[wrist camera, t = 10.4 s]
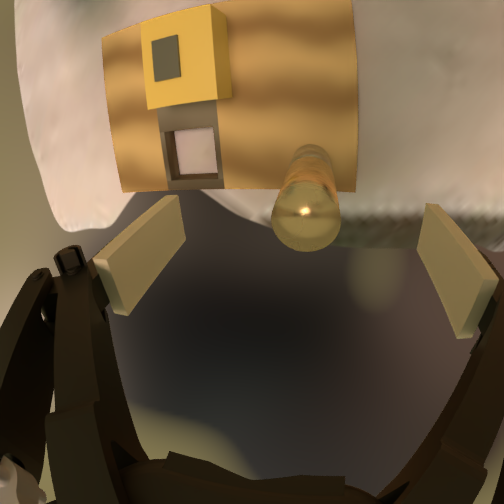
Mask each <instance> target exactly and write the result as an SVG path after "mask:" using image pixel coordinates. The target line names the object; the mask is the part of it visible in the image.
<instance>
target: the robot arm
mask: <svg viewBox="0 0 504 504" xmlns="http://www.w3.org/2000/svg"><path fill="white" fill-rule="evenodd" d="M185 240H186V238H185V232H184V227H183V221H182V216H181V210H180V205H179V198H178V195H166V196H165V197H163V198H162V199H161V200H160V201H158V202H157V203H156V204H155V205H153V206H152V207H151V208H150V209H149V210H147V211H146V212H145V213H143V214H142V215H141V216H140V217H139V218H138V219H136V220H135V221H134V222H133V223H132V224H130V225H129V226H128V227H127V228H126V229H125V230H123V231H122V232H121V233H120V234H119V235H118V236H117V237H115V238H114V239H112V240H111V241H110V242H109V243H108V244H107V245H106V246H105V247H103V248H102V249H101V251H99V252H98V253H97V254H96V255H95V256H94V257H92V258H91V259H90V260H89V261H88V262H87V263H86V260H85V257H84V254H83V252H82V249H81V246H79V245H72V246H68V247H66V248H64V249H62V250H60V251H59V252H58V253H57V254H56V255H55V256H54V261H55V263H56V265H57V268H58V271H59V273H60V276H58V277H52V274H51V273H50V270H49V268H41V269H37V270H35V271H34V272H33V273H32V274H31V275H30V276H29V277H28V278H27V280H26V281H25V283H24V285H23V286H22V288H21V290H20V292H19V294H18V295H17V297H16V299H15V300H14V302H13V304H12V306H11V308H10V310H9V312H8V314H7V316H6V318H5V320H4V322H3V324H2V326H1V328H0V504H45V503H46V500H47V499H46V494H45V492H44V491H43V490H42V489H40V488H39V486H38V485H39V482H40V479H41V474H42V469H43V463H44V455H45V445H46V443H47V450H48V459H49V465H50V471H51V477H52V482H53V487H54V491H55V496H56V500H54V501H51V502H49V503H46V504H473V502H474V500H475V498H476V497H477V495H478V493H479V491H480V490H481V488H482V486H483V484H484V482H485V479H486V477H487V469H485V468H484V462H485V460H486V458H487V455H488V454H489V451H490V449H491V447H492V445H493V442H494V440H495V438H496V435H497V433H498V430H499V428H500V425H501V423H502V420H503V417H504V279H503V278H502V277H501V275H500V274H499V272H498V271H497V270H496V268H495V267H494V265H493V264H491V261H490V260H489V259H488V257H487V256H486V255H484V254H483V253H482V252H481V251H479V250H477V249H476V248H475V246H474V245H473V244H472V242H471V241H470V240H469V239H468V238H467V236H466V235H465V234H464V233H463V232H462V230H461V229H460V228H459V227H458V226H457V225H456V223H455V222H454V221H453V220H452V219H451V218H450V217H449V215H448V214H447V213H446V212H445V211H444V210H443V209H442V208H441V207H440V206H439V205H438V204H430V203H426V206H425V212H424V217H423V222H422V227H421V232H420V237H419V242H418V246H417V252H418V253H419V255H420V257H421V259H422V261H423V263H424V265H425V267H426V269H427V271H428V273H429V275H430V277H431V279H432V282H433V283H434V286H435V288H436V290H437V292H438V294H439V296H440V299H441V301H442V303H443V306H444V308H445V310H446V313H447V315H448V318H449V320H450V323H451V325H452V328H453V330H454V333H455V335H456V338H457V339H461V338H472V336H473V334H474V332H475V331H476V329H477V327H479V329H480V331H481V334H480V336H479V338H478V340H477V342H476V344H475V345H474V347H473V348H472V350H471V352H470V354H471V356H470V359H469V361H468V363H467V365H466V367H465V369H464V371H463V373H462V375H461V377H460V380H459V381H458V384H457V386H456V387H455V389H454V391H453V393H452V395H451V397H450V398H449V400H448V402H447V404H446V406H445V407H444V409H443V411H442V412H441V414H440V416H439V417H438V419H437V421H436V422H435V424H434V425H433V427H432V428H431V430H430V432H429V433H428V435H427V436H426V438H425V439H424V441H423V442H422V443H421V445H420V446H419V448H418V449H417V451H416V452H415V453H414V455H413V456H412V458H411V459H410V460H409V461H408V463H407V464H406V465H405V467H404V468H403V469H402V470H401V471H400V473H399V474H398V475H397V476H396V477H395V478H394V479H393V480H392V481H391V482H390V483H389V484H388V485H387V486H386V487H385V488H384V489H383V490H382V491H381V492H380V493H379V494H378V495H377V496H376V497H374V496H372V495H371V494H369V493H368V492H366V491H364V490H361V489H359V488H356V487H353V486H350V485H346V484H345V476H310V475H297V476H291V477H283V478H274V479H264V480H250V479H247V478H244V477H242V476H240V475H237V474H235V473H233V472H230V471H228V470H226V469H224V468H221V467H219V466H217V465H215V464H213V463H211V462H209V461H205V460H201V459H197V458H192V457H189V456H185V455H182V454H178V453H175V452H171V451H169V453H168V456H167V458H166V459H153V460H149V458H148V456H147V455H146V453H145V452H144V450H143V448H142V446H141V444H140V442H139V439H138V437H137V434H136V430H135V427H134V424H133V421H132V418H131V414H130V411H129V408H128V404H127V401H126V397H125V394H124V389H123V386H122V382H121V378H120V373H119V369H118V365H117V360H116V356H115V351H114V346H113V341H112V335H111V330H110V324H109V318H108V313H107V311H106V309H105V307H106V306H107V305H108V304H109V302H110V304H111V307H112V309H113V311H114V313H116V314H121V315H127V316H128V315H129V314H130V312H131V311H132V310H133V308H134V307H135V305H136V304H137V303H138V301H139V300H140V299H141V297H142V296H143V295H144V293H145V292H146V291H147V289H148V288H149V287H150V285H151V284H152V283H153V281H154V280H155V279H156V277H157V276H158V275H159V273H160V272H161V271H162V269H163V268H164V267H165V265H166V264H167V263H168V262H169V260H170V259H171V258H172V256H173V255H174V254H175V253H176V251H177V250H178V249H179V248H180V246H181V245H182V244H183V243H184V241H185ZM41 312H42V314H43V316H44V317H45V319H44V321H43V319H42V315H41ZM53 391H54V394H55V412H52V413H50V407H51V402H52V396H53ZM491 504H504V460H503V464H502V468H501V472H500V476H499V480H498V483H497V487H496V490H495V494H494V496H493V500H492V503H491Z"/></svg>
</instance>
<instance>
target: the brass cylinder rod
mask: <svg viewBox="0 0 504 504" xmlns="http://www.w3.org/2000/svg"><path fill="white" fill-rule="evenodd" d="M271 222H272V227H273V230H274V232H275V234H276V236H277V237H278V238H279V240H280V241H281V242H282V243H284V244H285V245H286V246H288V247H290V248H292V249H295V250H298V251H304V252H311V251H317V250H320V249H322V248H324V247H326V246H328V245H329V244H330V243H331V242H332V241H333V240H334V239H335V238H336V236H337V235H338V232H339V230H340V226H341V216H340V210H339V203H338V198H337V192H336V186H335V181H334V175H333V170H332V165H331V160H330V157H329V155H328V153H327V152H326V151H325V150H324V149H323V148H322V147H320V146H318V145H314V144H307V145H303V146H301V147H300V148H298V149H297V150H296V151H295V153H294V154H293V157H292V160H291V162H290V165H289V168H288V170H287V173H286V176H285V178H284V181H283V184H282V186H281V189H280V192H279V194H278V197H277V200H276V202H275V205H274V208H273V211H272V216H271Z"/></svg>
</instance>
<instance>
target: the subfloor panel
mask: <svg viewBox="0 0 504 504" xmlns="http://www.w3.org/2000/svg"><path fill="white" fill-rule="evenodd" d="M211 5H213V6H214V7H215V8H217V9H218V10H220V11H221V12H222V13H224V14H225V15H226V21H227V34H228V47H229V60H230V73H231V85H232V97H233V98H224V99H214V100H206V101H198V102H191V103H184V104H178V105H172V106H166V107H160V108H155V109H150V110H148V108H147V100H146V91H145V81H144V70H143V58H142V44H141V27H140V23H138V24H136V25H133V26H130V27H127V28H125V29H122V30H120V31H117V32H115V33H112V34H110V35H107V36H105V37H103V38H102V55H103V69H104V80H105V90H106V99H107V107H108V114H109V121H110V128H111V135H112V141H113V146H114V152H115V158H116V163H117V168H118V173H119V178H120V183H121V187H122V192H123V193H126V192H142V191H162V190H187V189H281V186H282V184H283V181H284V178H285V176H286V173H287V170H288V168H289V165H290V162H291V160H292V157H293V154H294V153H295V151H296V150H297V149H298V148H300V147H301V146H303V145H307V144H314V145H318V146H320V147H322V148H323V149H324V150H325V151H326V152H327V153H328V155H329V157H330V160H331V165H332V170H333V175H334V181H335V186H336V191H340V192H355V189H356V173H357V150H358V79H357V58H356V43H355V31H354V21H353V11H352V3H351V0H231V1H225V2H219V3H214V4H211ZM203 127H213V130H214V140H215V150H216V160H217V169H218V173H209V174H186V175H180V173H179V167H178V160H177V153H176V145H175V138H174V131H176V130H184V129H193V128H203Z"/></svg>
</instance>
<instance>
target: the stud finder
mask: <svg viewBox="0 0 504 504" xmlns="http://www.w3.org/2000/svg"><path fill="white" fill-rule="evenodd" d="M140 27H141V44H142V58H143V70H144V81H145V91H146V100H147V108H148V110H150V109H155V108H160V107H166V106H172V105H178V104H184V103H191V102H198V101H206V100H214V99H224V98H233V97H232V85H231V73H230V60H229V47H228V34H227V21H226V15H225V14H224V13H222V12H221V11H220V10H218V9H217V8H215V7H214V6H213V5H211V4H206V5H202V6H197V7H193V8H188V9H184V10H180V11H177V12H173V13H169V14H166V15H162V16H159V17H156V18H153V19H150V20H147V21H144V22H141V23H140Z"/></svg>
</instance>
